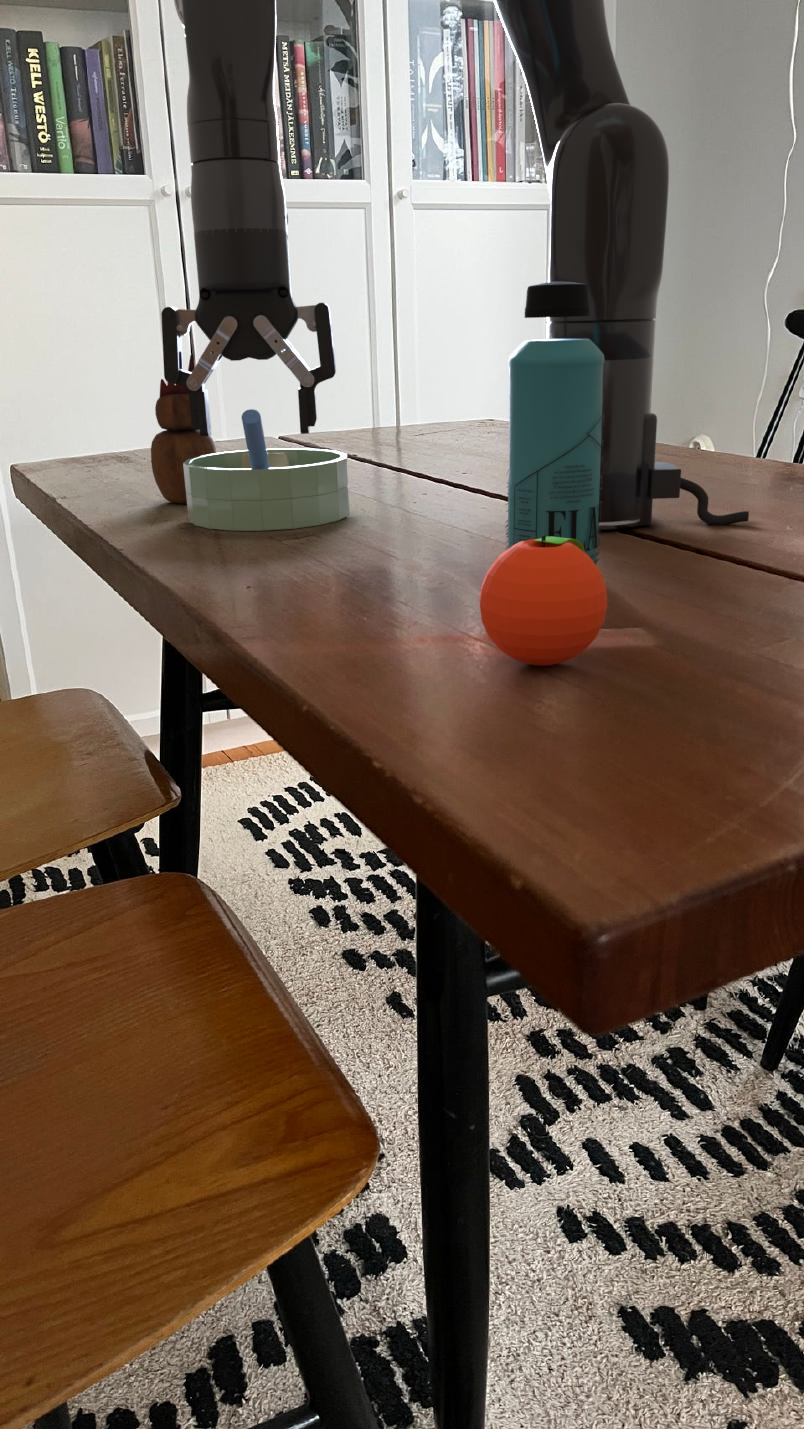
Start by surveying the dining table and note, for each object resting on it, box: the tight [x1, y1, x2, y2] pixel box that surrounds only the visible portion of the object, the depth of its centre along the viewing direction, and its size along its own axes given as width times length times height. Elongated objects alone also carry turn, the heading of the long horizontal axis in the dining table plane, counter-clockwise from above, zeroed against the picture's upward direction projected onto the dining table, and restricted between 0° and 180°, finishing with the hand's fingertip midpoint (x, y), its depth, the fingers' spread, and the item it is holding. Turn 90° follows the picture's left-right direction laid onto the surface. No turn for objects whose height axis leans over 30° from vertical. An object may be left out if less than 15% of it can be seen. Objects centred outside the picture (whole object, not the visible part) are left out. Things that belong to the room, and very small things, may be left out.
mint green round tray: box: [183, 447, 350, 532], centre depth 100 cm, size 15×15×6 cm
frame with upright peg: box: [241, 408, 269, 469], centre depth 96 cm, size 16×7×6 cm, turn 2°
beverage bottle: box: [505, 281, 605, 566], centre depth 71 cm, size 6×7×20 cm
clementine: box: [478, 535, 609, 667], centre depth 58 cm, size 8×7×7 cm
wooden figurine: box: [150, 354, 217, 505], centre depth 112 cm, size 7×6×15 cm
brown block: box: [241, 453, 289, 469], centre depth 100 cm, size 4×4×4 cm
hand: (255, 434), depth 91 cm, fingers open, 8 cm apart
